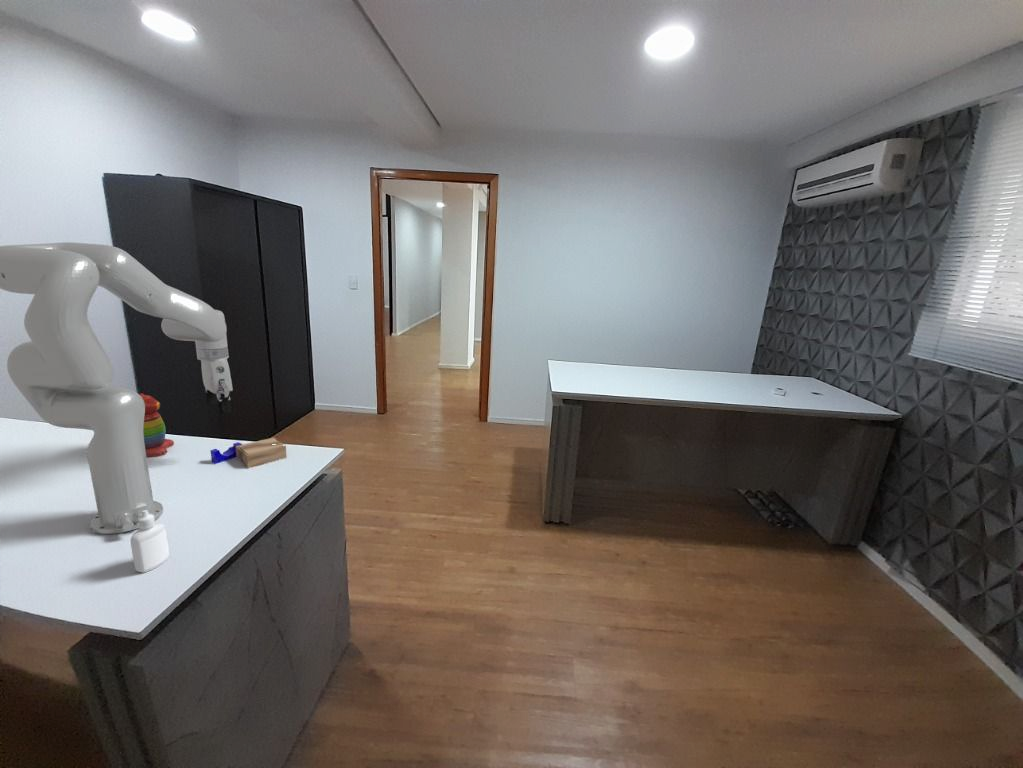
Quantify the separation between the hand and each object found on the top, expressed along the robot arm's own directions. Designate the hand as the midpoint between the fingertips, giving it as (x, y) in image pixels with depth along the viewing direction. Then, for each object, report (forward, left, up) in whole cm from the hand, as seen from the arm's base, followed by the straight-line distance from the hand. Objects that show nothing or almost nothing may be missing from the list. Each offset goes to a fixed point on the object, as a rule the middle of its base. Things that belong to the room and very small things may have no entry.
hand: (219, 408), depth 129 cm
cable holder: (-2, 0, -16) cm, 16 cm away
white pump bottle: (-44, +26, -16) cm, 54 cm away
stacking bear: (+18, +14, -16) cm, 28 cm away
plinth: (-8, -8, -15) cm, 19 cm away
